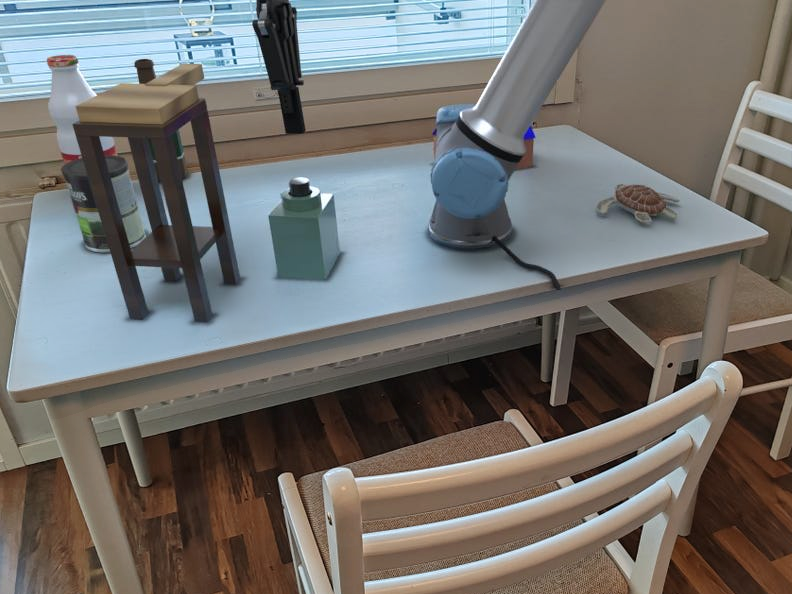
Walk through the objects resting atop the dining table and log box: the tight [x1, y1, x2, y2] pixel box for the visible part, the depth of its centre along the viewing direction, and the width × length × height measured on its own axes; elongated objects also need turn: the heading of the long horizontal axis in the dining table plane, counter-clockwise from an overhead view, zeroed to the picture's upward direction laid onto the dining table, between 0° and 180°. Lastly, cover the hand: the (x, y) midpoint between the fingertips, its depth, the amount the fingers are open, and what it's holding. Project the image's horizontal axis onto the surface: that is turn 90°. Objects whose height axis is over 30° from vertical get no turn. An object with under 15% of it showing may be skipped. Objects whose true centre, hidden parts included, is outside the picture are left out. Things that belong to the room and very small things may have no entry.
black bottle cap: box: [288, 176, 311, 197], centre depth 118 cm, size 3×3×2 cm
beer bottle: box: [133, 58, 188, 183], centre depth 154 cm, size 8×8×24 cm
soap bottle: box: [267, 185, 341, 281], centre depth 122 cm, size 10×8×13 cm
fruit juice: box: [46, 54, 118, 165], centre depth 138 cm, size 9×9×28 cm
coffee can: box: [60, 155, 147, 254], centre depth 129 cm, size 10×10×14 cm
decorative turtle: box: [595, 183, 681, 224], centre depth 145 cm, size 18×17×5 cm
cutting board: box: [76, 63, 205, 125], centre depth 104 cm, size 24×11×2 cm, turn 175°
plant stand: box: [72, 97, 241, 323], centre depth 108 cm, size 14×12×29 cm
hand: (295, 132), depth 113 cm, fingers closed
